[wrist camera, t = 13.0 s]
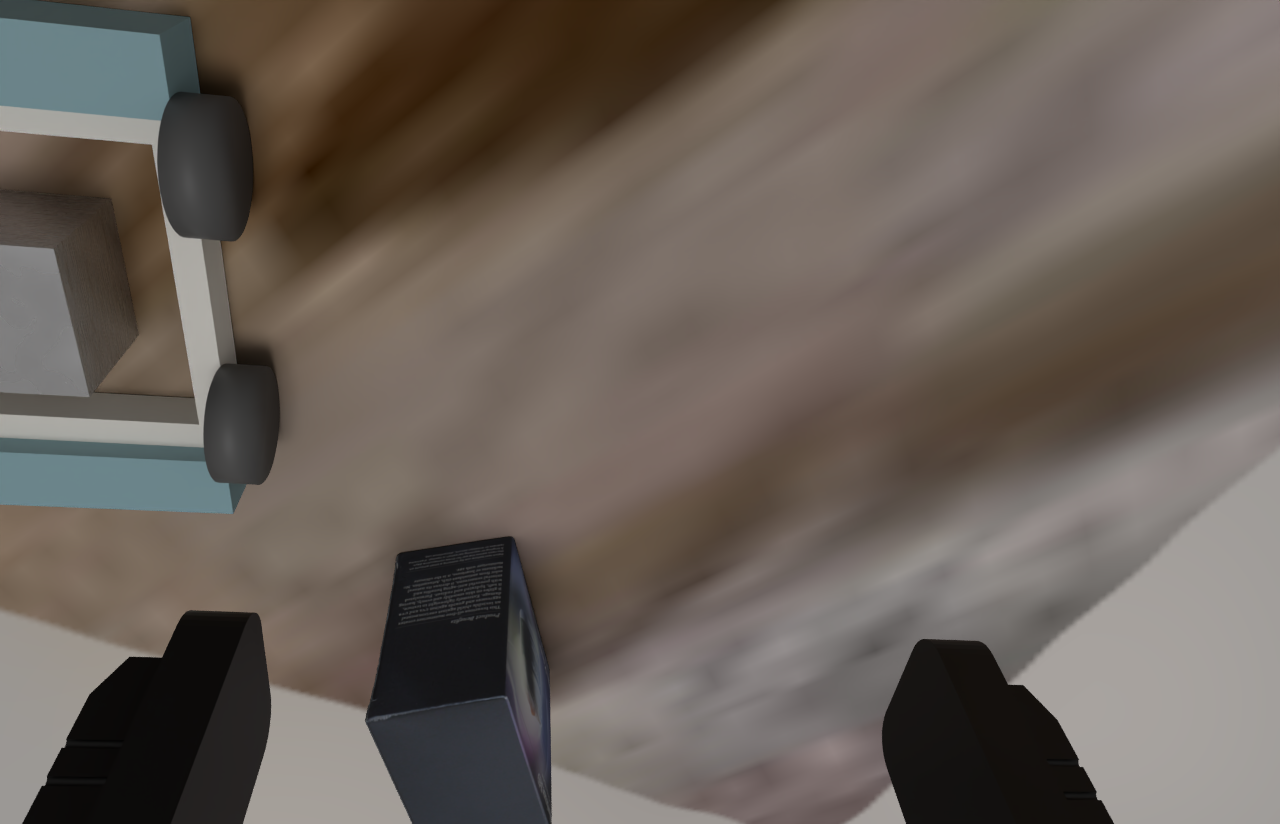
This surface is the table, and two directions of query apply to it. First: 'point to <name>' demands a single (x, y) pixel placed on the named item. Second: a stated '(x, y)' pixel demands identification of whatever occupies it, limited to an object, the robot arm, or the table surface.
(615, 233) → the table surface
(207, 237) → the chassis
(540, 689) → the small box
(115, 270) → the block
